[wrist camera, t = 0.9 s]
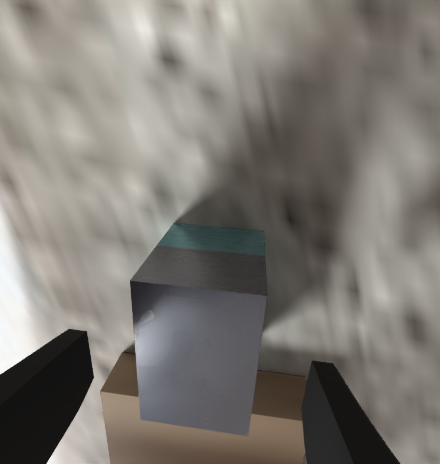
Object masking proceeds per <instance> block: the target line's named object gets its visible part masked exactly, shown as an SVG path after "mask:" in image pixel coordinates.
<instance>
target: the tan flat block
mask: <svg viewBox="0 0 440 464" xmlns="http://www.w3.org/2000/svg"><path fill="white" fill-rule="evenodd" d="M305 389H306V382H305V377H302V376H295V375H287V374H280V373H272V372H265V371H257V376H256V383H255V391H254V398H253V405H252V413H251V420H250V428H249V435H248V436H242V435H236V434H229V433H223V432H216V431H210V430H203V429H197V428H191V427H184V426H178V425H171V424H165V423H158V422H152V421H145V420H140V406H139V393H138V380H137V366H136V354H131V353H123V352H122V354H121V355H120V357H119V359H118V361H117V363H116V364H115V366H114V368H113V370H112V371H111V373H110V375H109V377H108V379H107V380H106V382H105V384H104V386H103V387H102V389H101V391H100V393H101V400H102V407H103V414H104V421H105V428H106V435H107V442H108V449H109V456H110V463H111V464H302V463H303V459H304V455H305V446H304V435H303V423H302V409H301V407H302V402H303V398H304V394H305Z"/></svg>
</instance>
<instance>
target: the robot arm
mask: <svg viewBox="0 0 440 464" xmlns="http://www.w3.org/2000/svg"><path fill="white" fill-rule="evenodd" d="M93 378H94V375H93V368H92V362H91V355H90V349H89V342H88V336H87V331H80V330H73V329H68V330H67V331H65V332H64V333H62V334H61V335H59V336H57V337H56V338H54V339H53V340H51V341H50V342H48V343H47V344H46V345H44V346H43V347H41V348H40V349H38V350H37V351H35V352H34V353H32V354H31V355H29V356H28V357H26V358H25V359H23V360H22V361H20V362H19V363H17V364H16V365H14V366H13V367H11V368H10V369H8V370H7V371H5V372H4V373H2V374H1V375H0V464H46V463H47V462H48V460H49V458H50V457H51V455H52V454H53V452H54V450H55V449H56V447H57V445H58V444H59V442H60V440H61V439H62V437H63V436H64V434H65V432H66V431H67V429H68V427H69V426H70V424H71V422H72V421H73V419H74V417H75V416H76V414H77V412H78V410H79V408H80V406H81V404H82V402H83V400H84V398H85V396H86V394H87V392H88V389H89V387H90V385H91V383H92V381H93ZM301 409H302V423H303V435H304V446H305V452H306V457H307V463H308V464H400V463H399V461H398V460H397V459H396V457H395V456H394V454H393V453H392V452H391V450H390V449H389V447H388V446H387V445H386V443H385V442H384V440H383V439H382V437H381V436H380V435H379V433H378V432H377V430H376V429H375V427H374V426H373V424H372V423H371V422H370V420H369V419H368V417H367V416H366V414H365V413H364V411H363V410H362V408H361V407H360V405H359V403H358V402H357V400H356V399H355V397H354V396H353V394H352V393H351V391H350V389H349V388H348V386H347V385H346V383H345V381H344V380H343V378H342V377H341V375H340V373H339V372H338V370H337V368H336V367H335V366H334V364H333V363H326V362H318V361H312V363H311V367H310V372H309V376H308V381H307V385H306V389H305V394H304V398H303V402H302V407H301Z"/></svg>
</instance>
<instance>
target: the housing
mask: <svg viewBox="0 0 440 464" xmlns="http://www.w3.org/2000/svg"><path fill="white" fill-rule="evenodd" d="M130 286H131V299H132V313H133V326H134V339H135V353H136V366H137V380H138V393H139V406H140V420H145V421H152V422H158V423H165V424H171V425H178V426H184V427H191V428H197V429H203V430H210V431H216V432H223V433H229V434H236V435H242V436H248V435H249V428H250V420H251V413H252V405H253V398H254V391H255V383H256V376H257V368H258V361H259V353H260V346H261V338H262V331H263V323H264V316H265V309H266V301H267V282H266V262H265V242H264V231H257V230H246V229H235V228H224V227H213V226H202V225H192V224H181V223H173V225H172V226H171V227H170V229H169V230H168V231H167V233H166V234H165V235H164V237H163V238H162V239H161V241H160V242H159V243H158V245H157V246H156V247H155V248H154V250H153V251H152V252H151V254H150V255H149V256H148V258H147V259H146V260H145V262H144V263H143V264H142V266H141V267H140V268H139V270H138V271H137V272H136V274H135V275H134V276H133V278H132V279H131V280H130Z"/></svg>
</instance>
